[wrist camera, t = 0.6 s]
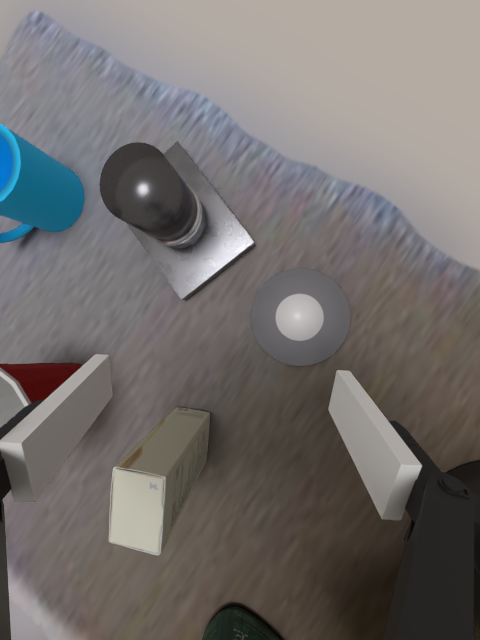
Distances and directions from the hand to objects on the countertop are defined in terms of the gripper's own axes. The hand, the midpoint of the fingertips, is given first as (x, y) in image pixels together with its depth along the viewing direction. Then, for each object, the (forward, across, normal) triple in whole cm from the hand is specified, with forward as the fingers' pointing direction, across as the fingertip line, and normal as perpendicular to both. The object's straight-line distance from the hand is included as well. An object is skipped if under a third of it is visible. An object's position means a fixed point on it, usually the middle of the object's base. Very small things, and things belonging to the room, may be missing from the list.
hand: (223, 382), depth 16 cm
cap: (+14, -7, 0) cm, 16 cm away
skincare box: (+12, +4, +15) cm, 20 cm away
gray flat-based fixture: (+19, +6, -8) cm, 22 cm away
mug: (+23, +24, -8) cm, 34 cm away
